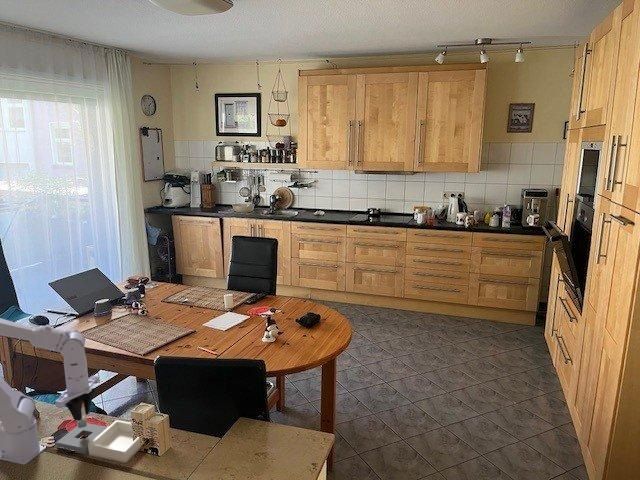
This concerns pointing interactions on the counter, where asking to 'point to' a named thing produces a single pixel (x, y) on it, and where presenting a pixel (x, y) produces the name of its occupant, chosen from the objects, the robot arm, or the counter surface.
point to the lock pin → (83, 420)
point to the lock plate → (77, 444)
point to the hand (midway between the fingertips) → (81, 416)
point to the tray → (115, 443)
